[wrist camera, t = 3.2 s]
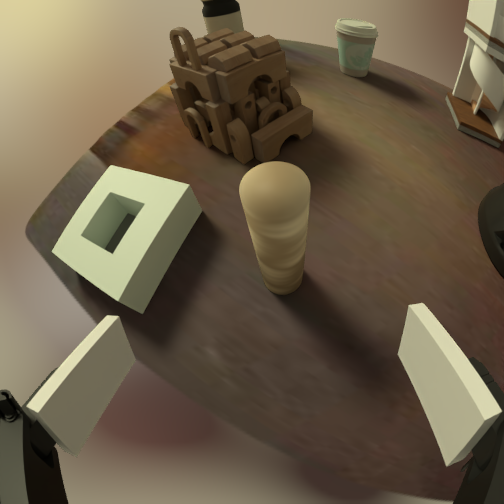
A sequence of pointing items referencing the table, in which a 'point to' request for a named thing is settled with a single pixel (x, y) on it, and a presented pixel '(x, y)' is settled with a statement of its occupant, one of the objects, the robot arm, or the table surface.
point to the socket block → (128, 233)
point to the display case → (481, 74)
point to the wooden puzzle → (237, 93)
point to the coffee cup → (355, 45)
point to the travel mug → (222, 15)
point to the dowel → (277, 221)
